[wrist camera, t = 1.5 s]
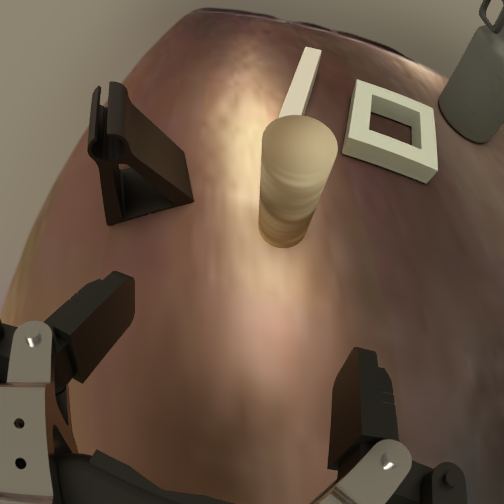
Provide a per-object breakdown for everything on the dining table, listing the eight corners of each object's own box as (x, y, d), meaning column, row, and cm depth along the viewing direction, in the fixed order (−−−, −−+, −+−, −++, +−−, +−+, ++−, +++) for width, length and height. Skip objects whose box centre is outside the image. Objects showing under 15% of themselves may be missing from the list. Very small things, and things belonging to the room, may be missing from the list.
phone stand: (185, 154, 31) (159, 66, 20) (194, 202, 29) (165, 116, 18) (106, 177, 30) (55, 103, 19) (108, 226, 28) (45, 158, 17)
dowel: (311, 211, 29) (342, 126, 17) (300, 253, 27) (330, 182, 16) (266, 198, 29) (273, 108, 18) (252, 239, 28) (252, 160, 17)
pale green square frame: (424, 122, 33) (432, 108, 30) (426, 183, 30) (437, 170, 27) (351, 95, 34) (357, 79, 31) (341, 153, 31) (348, 137, 28)
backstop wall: (317, 73, 35) (321, 50, 32) (289, 161, 31) (294, 137, 27) (302, 69, 36) (305, 46, 32) (270, 156, 31) (272, 131, 27)
